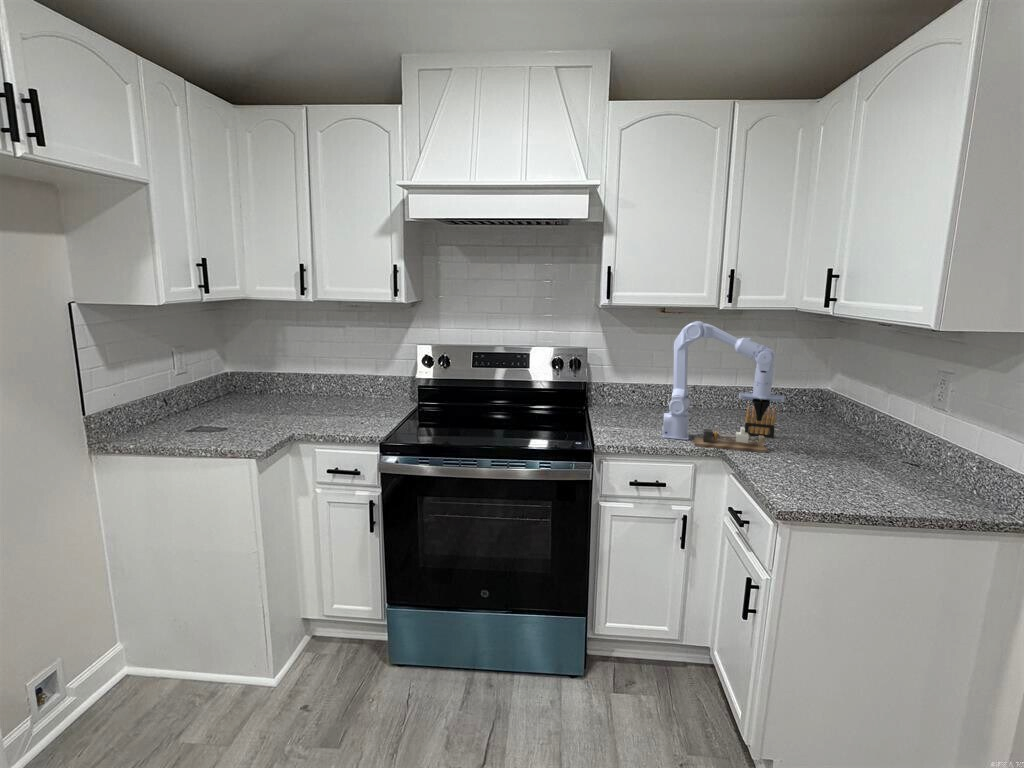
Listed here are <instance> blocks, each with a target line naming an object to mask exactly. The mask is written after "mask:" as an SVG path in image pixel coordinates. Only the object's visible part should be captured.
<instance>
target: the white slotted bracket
mask: <svg viewBox="0 0 1024 768" xmlns="http://www.w3.org/2000/svg"><path fill="white" fill-rule="evenodd" d="M744 427H745V426H740V431H736V432H735V436H736V438H734V440H736V442H746V443H748V442H749V440H748V439H749V437H750V436H749V434H748V433H745V428H744Z"/></svg>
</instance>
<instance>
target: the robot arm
mask: <svg viewBox="0 0 1024 768" xmlns="http://www.w3.org/2000/svg"><path fill="white" fill-rule="evenodd" d="M701 338H703V339H711V338H712V339H715V340H717V341H720V342H722V343H724V344H727V345H729V346H731V347H733V348H734V350H735V353H737V354H740V355H741V356H743V357H745V358H748V359H750V360H752V361H754V360H755V362H756V366H755V370H754V380H753V388H752V389H753V390H752V392H739V393H738V399H739V400H752V404H753V406H754V407H755V419H756V420H757V421H762V417H763V415H764V413H765V414H766V412H767V410H768V407H770V404H771V402H778V403H779V402H781V403H785V399H786V398H785V396H784V395H777V394H772V387H773V386H772V384H773V377H774V376H773V375H774V362H775V358H776V353H775V351H774V349H772V348H770V347H767V346H765V345H764V344H762V343H761V344H759V343H757V342H756V341H752V338H750V337H747V338H746V337H741V338H738V337H736V336H734V335H732V334H730V333H728V332H726V331H725V330H722V329H720V328H718V327H717V326H714V325H712V324H710V323H705V322H703V321H701V320H695V321H692V322H690V323H688V324H687V325H686V326H684V327H683V328H682V329H681V331H680V333H679V334H678V335H677V337H676V338H675V340H674V341H673V383H672V384H673V386H672V387H673V389H672V393H671V400H670V402H669V403H668V409H669V411H668V412H664V413H663V423H662V425H663V426H662V427H661V432H662V436H661V437H662V438H663V439H673V440H675V439H676V440H685V441H687V440H690V438H689V437H690V436H689V433H688V431H689V421H690V412H689V411H688V409H689V408H690V407H691V405H692V401H691V398H690V397H689V390H688V362H689V361H688V360H689V359H688V356H689V355H688V353H689V346H691V345H692V344H693V343H694V342H695V341H697V340H700V339H701Z"/></svg>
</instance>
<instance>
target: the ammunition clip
mask: <svg viewBox="0 0 1024 768" xmlns="http://www.w3.org/2000/svg"><path fill="white" fill-rule="evenodd" d="M775 426H776V408H775V406H774V407H772V410H771V407H770V406H768V408H767V409H766V412H765V413H764V415H763V417H762V421H757V420H756V411H755V407H754V405H753V407H752V409H751V405H750V404H748V406H747V408H746V414H745V421H744V426H743V427H744V428H745V433H748V434H749V435H750V436H749V437H755V436H758V437H757V438H759V435H761V436H764V437H767V439H774V437H775Z"/></svg>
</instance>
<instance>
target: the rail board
mask: <svg viewBox="0 0 1024 768" xmlns="http://www.w3.org/2000/svg"><path fill="white" fill-rule="evenodd" d="M702 436H703V437H702ZM702 436H693V442H694V447H701V448H711V449H712V448H713V449H718V450H719V449H722V450H732V451H740V452H741V451H742V452H753V453H761V452H763V453H762V454H768V449H767V447H766V445H765V443H766V442H765V440H766V439H765V437H764V436H761V435H759V437H755V436H749V439H748V443H746V442H736V440H735V438H736V435H732V434H723V433H718V430H714V431H713V429H707V428H704V429H703V435H702ZM722 438H723V439H722Z"/></svg>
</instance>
